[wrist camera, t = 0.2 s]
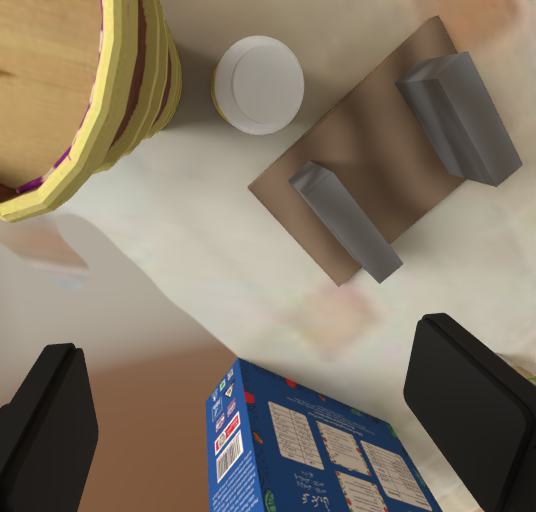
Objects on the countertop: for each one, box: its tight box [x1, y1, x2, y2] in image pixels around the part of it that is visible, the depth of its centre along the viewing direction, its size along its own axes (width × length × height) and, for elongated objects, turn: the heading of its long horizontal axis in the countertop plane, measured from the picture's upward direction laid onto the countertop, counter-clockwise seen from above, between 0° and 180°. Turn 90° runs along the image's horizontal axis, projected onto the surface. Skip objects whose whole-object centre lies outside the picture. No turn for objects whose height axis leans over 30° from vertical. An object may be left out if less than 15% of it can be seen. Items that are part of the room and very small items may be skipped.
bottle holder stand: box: [248, 15, 523, 287], centre depth 36 cm, size 24×16×8 cm, turn 131°
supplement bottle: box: [211, 35, 304, 135], centre depth 29 cm, size 7×7×13 cm
